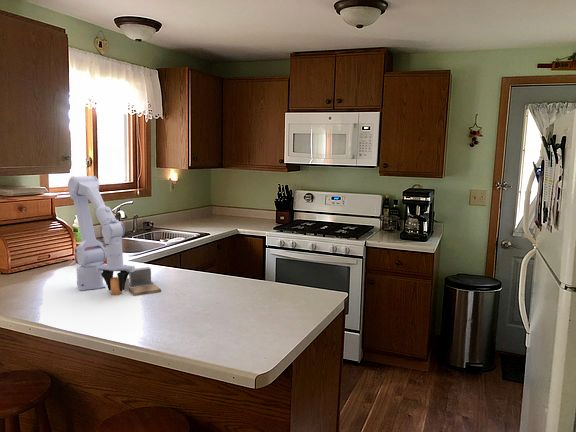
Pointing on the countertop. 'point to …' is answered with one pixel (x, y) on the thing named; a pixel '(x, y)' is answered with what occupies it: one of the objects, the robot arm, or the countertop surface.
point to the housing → (140, 277)
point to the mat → (144, 289)
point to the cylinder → (115, 286)
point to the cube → (127, 284)
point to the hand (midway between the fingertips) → (116, 289)
